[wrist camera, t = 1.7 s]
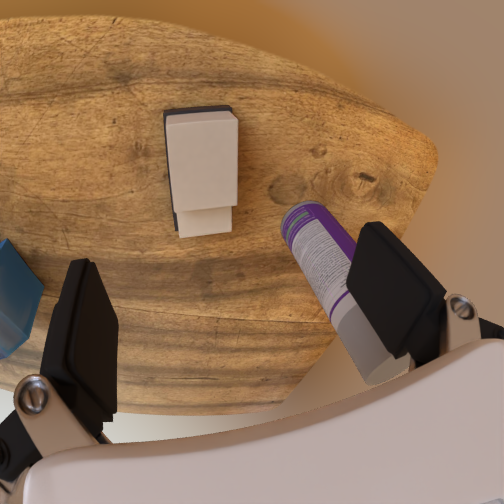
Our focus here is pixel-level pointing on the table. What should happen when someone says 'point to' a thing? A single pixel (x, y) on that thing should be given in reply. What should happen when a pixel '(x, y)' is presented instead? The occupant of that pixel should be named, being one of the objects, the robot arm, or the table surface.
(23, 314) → the perfume bottle
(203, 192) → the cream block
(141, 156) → the table surface
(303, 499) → the robot arm
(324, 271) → the container
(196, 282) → the table surface
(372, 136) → the table surface
